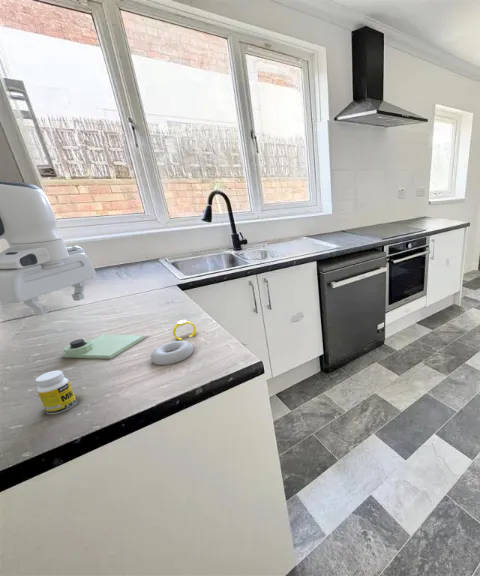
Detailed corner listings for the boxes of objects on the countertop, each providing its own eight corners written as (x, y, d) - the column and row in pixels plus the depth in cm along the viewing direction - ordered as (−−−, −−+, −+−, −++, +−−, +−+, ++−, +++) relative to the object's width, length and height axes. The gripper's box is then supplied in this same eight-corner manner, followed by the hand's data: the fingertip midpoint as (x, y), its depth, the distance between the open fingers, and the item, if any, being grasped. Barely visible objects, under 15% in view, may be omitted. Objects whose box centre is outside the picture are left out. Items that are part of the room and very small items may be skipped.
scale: (61, 359, 87) (57, 350, 86) (102, 338, 98) (99, 329, 97) (109, 360, 86) (106, 351, 85) (145, 339, 97) (142, 330, 96)
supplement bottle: (70, 412, 66) (55, 379, 64) (41, 418, 65) (26, 384, 62) (82, 398, 71) (69, 367, 68) (55, 403, 69) (41, 371, 66)
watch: (195, 333, 100) (191, 317, 98) (198, 336, 99) (194, 319, 97) (174, 340, 96) (169, 323, 94) (177, 343, 94) (172, 326, 93)
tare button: (68, 348, 87) (66, 344, 87) (79, 343, 90) (77, 338, 89) (78, 349, 87) (76, 344, 86) (88, 343, 90) (87, 339, 89)
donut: (185, 365, 83) (199, 346, 92) (182, 354, 82) (197, 336, 91) (144, 370, 81) (163, 350, 91) (141, 358, 80) (160, 339, 89)
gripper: (70, 244, 83) (87, 292, 88) (-25, 263, 64) (2, 323, 68) (93, 244, 83) (109, 292, 88) (5, 263, 64) (31, 323, 68)
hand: (62, 306), depth 78 cm, fingers open, 8 cm apart
